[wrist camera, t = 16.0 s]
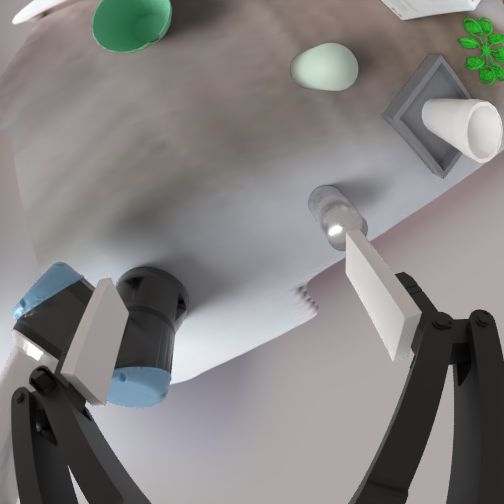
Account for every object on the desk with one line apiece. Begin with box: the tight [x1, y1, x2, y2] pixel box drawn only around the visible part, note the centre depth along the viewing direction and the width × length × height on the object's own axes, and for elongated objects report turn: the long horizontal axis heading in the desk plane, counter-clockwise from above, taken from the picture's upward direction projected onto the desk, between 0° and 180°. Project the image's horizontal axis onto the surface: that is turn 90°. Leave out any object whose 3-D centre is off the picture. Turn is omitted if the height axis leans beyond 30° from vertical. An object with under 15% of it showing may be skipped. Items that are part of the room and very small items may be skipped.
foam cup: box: [422, 98, 503, 163], centre depth 35 cm, size 10×9×13 cm
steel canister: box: [308, 185, 368, 251], centre depth 45 cm, size 6×6×11 cm
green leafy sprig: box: [459, 17, 504, 85], centre depth 31 cm, size 15×15×7 cm
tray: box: [382, 54, 472, 179], centre depth 40 cm, size 16×16×4 cm
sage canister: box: [290, 43, 358, 91], centre depth 33 cm, size 6×6×11 cm
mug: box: [92, 0, 172, 53], centre depth 26 cm, size 15×10×10 cm
